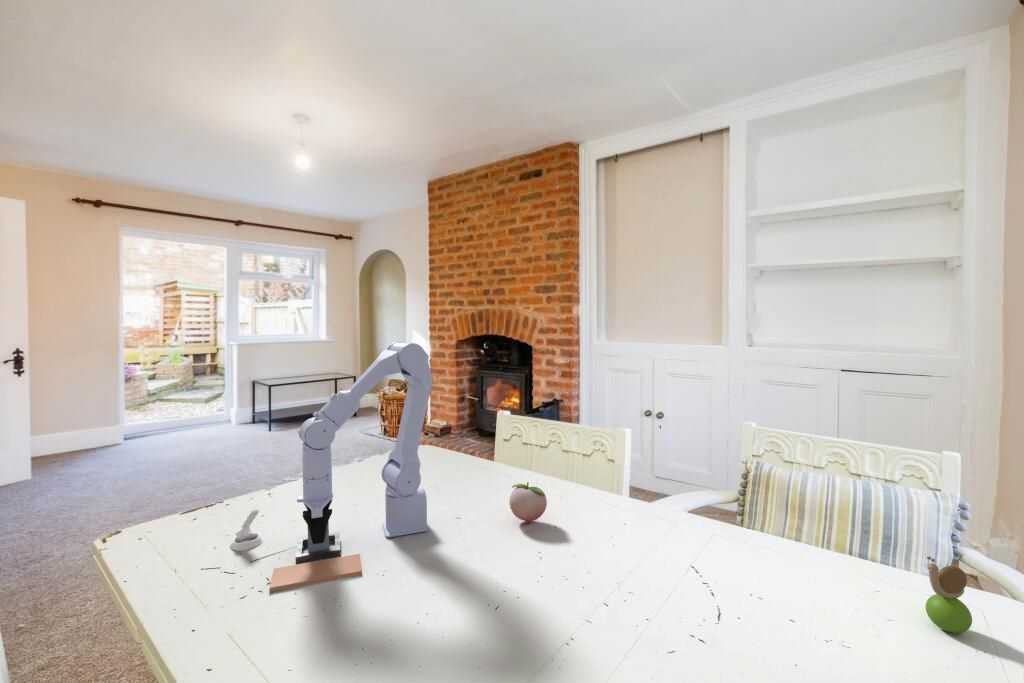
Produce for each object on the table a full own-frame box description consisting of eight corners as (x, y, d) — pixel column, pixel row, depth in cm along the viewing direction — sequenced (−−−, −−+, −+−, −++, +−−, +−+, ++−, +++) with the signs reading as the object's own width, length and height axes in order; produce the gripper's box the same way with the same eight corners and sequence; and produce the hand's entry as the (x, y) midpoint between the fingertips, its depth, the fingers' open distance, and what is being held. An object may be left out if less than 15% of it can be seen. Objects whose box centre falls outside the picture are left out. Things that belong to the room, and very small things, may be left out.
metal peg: (328, 545, 102) (328, 509, 102) (328, 553, 98) (328, 516, 98) (309, 548, 101) (308, 512, 100) (308, 557, 97) (307, 519, 96)
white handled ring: (270, 531, 99) (244, 519, 98) (247, 565, 101) (221, 553, 99) (281, 513, 105) (257, 501, 104) (259, 545, 107) (235, 533, 105)
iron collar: (339, 538, 105) (339, 532, 105) (340, 556, 97) (340, 549, 97) (298, 545, 102) (298, 538, 102) (295, 564, 94) (295, 557, 94)
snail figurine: (910, 619, 77) (913, 548, 76) (945, 617, 77) (949, 547, 77) (943, 642, 71) (946, 566, 71) (981, 640, 72) (985, 564, 71)
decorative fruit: (503, 526, 111) (502, 485, 111) (515, 513, 119) (515, 474, 118) (540, 533, 108) (540, 491, 107) (550, 519, 115) (551, 479, 115)
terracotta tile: (359, 557, 97) (359, 553, 97) (361, 574, 90) (361, 570, 90) (273, 572, 91) (273, 568, 91) (269, 592, 84) (269, 587, 84)
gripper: (298, 467, 104) (300, 526, 105) (294, 489, 90) (295, 557, 91) (332, 463, 107) (333, 521, 107) (332, 484, 93) (334, 550, 94)
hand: (318, 537), depth 99 cm, fingers open, 4 cm apart
